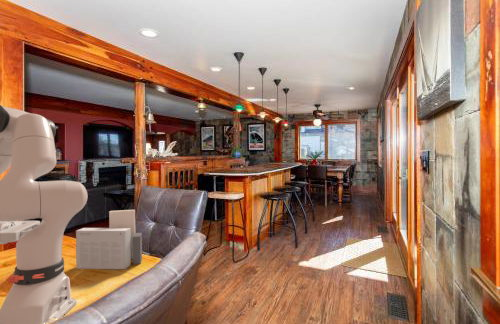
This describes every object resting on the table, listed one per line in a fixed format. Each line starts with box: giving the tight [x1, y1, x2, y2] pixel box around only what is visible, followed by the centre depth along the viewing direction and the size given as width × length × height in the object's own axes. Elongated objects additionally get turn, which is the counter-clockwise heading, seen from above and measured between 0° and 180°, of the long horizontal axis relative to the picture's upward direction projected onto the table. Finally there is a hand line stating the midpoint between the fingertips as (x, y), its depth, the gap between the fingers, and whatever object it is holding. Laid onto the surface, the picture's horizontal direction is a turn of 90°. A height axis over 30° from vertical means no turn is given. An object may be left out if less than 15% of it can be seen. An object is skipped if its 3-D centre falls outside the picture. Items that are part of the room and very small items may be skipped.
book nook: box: [108, 209, 143, 265], centre depth 120 cm, size 8×13×22 cm, turn 105°
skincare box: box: [75, 227, 132, 270], centre depth 115 cm, size 21×6×16 cm, turn 87°
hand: (42, 229), depth 110 cm, fingers open, 8 cm apart
